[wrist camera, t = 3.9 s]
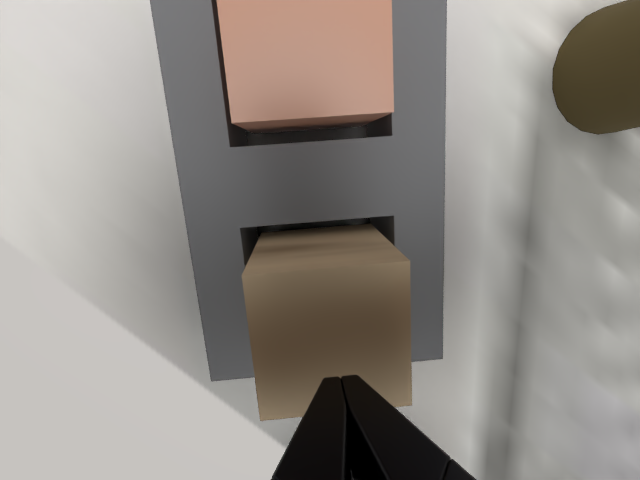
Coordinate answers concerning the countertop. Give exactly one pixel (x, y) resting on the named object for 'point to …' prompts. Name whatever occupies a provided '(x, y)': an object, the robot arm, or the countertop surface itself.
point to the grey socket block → (304, 172)
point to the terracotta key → (307, 63)
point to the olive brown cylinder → (601, 70)
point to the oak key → (327, 315)
